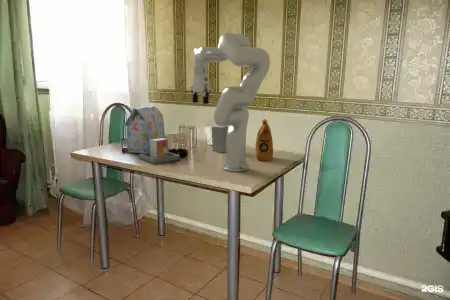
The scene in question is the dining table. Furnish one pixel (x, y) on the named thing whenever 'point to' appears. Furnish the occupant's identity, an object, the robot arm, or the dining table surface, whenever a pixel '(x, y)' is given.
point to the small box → (158, 148)
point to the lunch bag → (144, 128)
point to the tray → (159, 160)
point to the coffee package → (264, 143)
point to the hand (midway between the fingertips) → (200, 103)
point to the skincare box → (219, 138)
